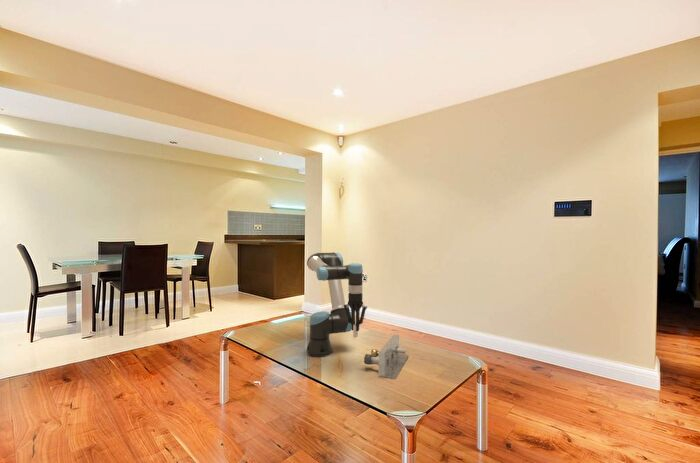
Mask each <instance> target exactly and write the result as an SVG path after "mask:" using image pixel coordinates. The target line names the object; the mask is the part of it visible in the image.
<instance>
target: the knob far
mask: <svg viewBox="0 0 700 463" xmlns="http://www.w3.org/2000/svg"><path fill="white" fill-rule="evenodd" d="M406 352H407V349H406V348H400V347H399V348H396V353H399V354H404V355H406Z"/></svg>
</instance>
